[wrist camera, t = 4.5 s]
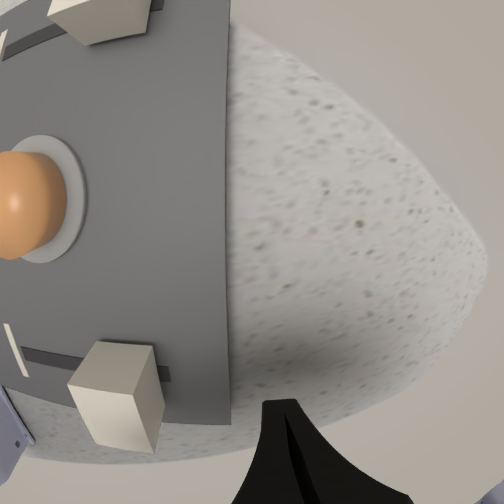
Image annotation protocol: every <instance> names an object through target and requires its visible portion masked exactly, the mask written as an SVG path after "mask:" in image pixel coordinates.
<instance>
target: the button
mask: <svg viewBox="0 0 504 504" xmlns="http://www.w3.org/2000/svg"><path fill="white" fill-rule="evenodd" d="M65 203H66V196H65V187H64V182H63V179H62V176H61V173H60V171H59V169H58V167H57V166H56V164H55V163H54V162H53V161H52V160H51V159H50V158H49V157H48V156H46V155H45V154H42V153H39V152H20V151H5V152H1V153H0V257H1V258H3V259H8V260H12V259H16V258H19V257H21V256H23V255H25V254H27V253H29V252H31V251H33V250H35V249H37V248H40V247H42V246H44V245H46V244H47V243H49V242H50V241H51V240H52V239H53V238H54V237H55V235H56V234H57V232H58V230H59V228H60V226H61V224H62V221H63V217H64V212H65Z"/></svg>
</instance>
